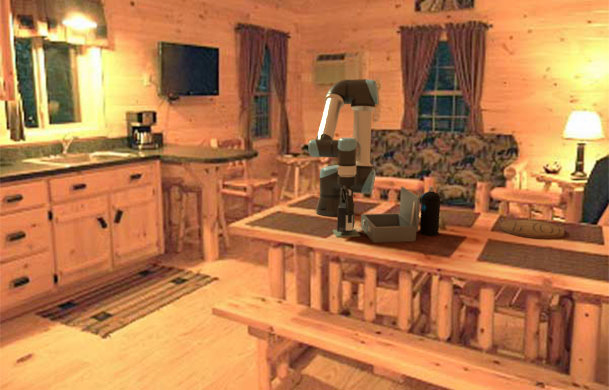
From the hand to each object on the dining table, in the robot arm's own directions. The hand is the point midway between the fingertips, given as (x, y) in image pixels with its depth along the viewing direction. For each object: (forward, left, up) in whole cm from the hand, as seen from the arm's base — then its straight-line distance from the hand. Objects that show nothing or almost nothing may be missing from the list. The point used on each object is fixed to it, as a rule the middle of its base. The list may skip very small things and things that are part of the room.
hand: (346, 226), depth 217 cm
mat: (0, 0, -3) cm, 3 cm away
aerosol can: (+4, +35, -3) cm, 35 cm away
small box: (0, 0, -1) cm, 1 cm away
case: (+3, +17, -3) cm, 18 cm away
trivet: (+6, +80, -4) cm, 80 cm away
